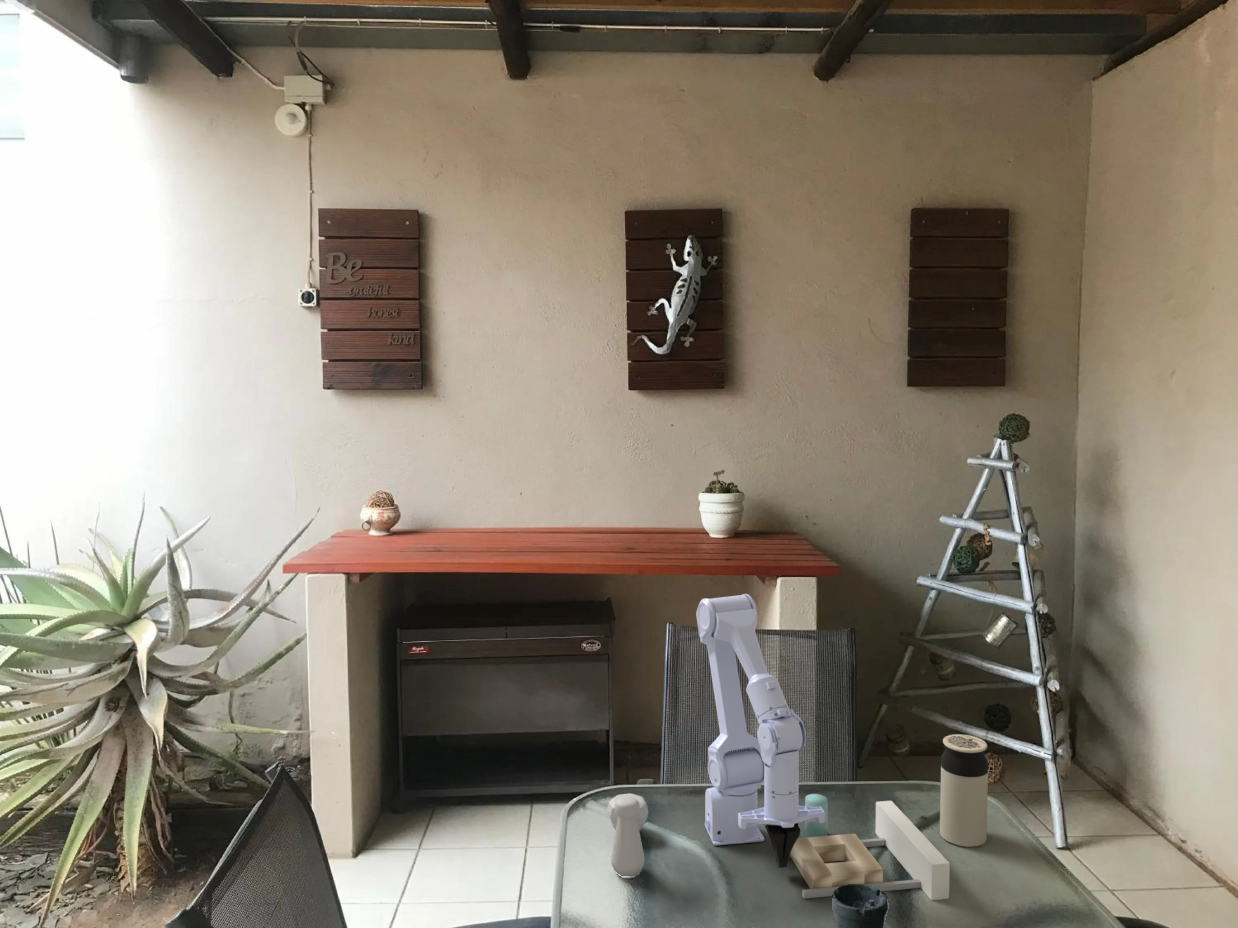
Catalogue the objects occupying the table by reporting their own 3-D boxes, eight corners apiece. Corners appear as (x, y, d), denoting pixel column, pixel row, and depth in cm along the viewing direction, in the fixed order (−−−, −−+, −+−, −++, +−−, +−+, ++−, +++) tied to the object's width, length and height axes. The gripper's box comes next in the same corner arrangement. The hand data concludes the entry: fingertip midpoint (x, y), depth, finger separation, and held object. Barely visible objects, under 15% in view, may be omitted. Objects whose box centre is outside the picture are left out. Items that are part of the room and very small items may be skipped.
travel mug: (962, 852, 162) (964, 753, 160) (930, 831, 169) (932, 737, 167) (996, 842, 165) (998, 745, 163) (963, 822, 172) (965, 730, 170)
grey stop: (811, 911, 144) (811, 875, 144) (770, 841, 166) (770, 810, 166) (948, 898, 147) (949, 862, 147) (890, 831, 169) (891, 800, 169)
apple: (645, 843, 166) (645, 809, 166) (603, 840, 168) (602, 806, 167) (651, 822, 174) (651, 789, 173) (611, 819, 175) (610, 786, 175)
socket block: (812, 892, 150) (812, 875, 149) (789, 854, 161) (789, 838, 161) (882, 886, 151) (883, 868, 151) (854, 849, 163) (854, 833, 163)
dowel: (809, 841, 166) (809, 804, 165) (802, 830, 170) (802, 794, 169) (830, 839, 167) (830, 802, 166) (822, 828, 171) (822, 792, 170)
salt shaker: (606, 867, 158) (604, 795, 157) (636, 860, 160) (635, 789, 159) (619, 884, 153) (618, 810, 152) (650, 876, 155) (649, 803, 154)
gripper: (745, 801, 149) (745, 880, 150) (831, 794, 151) (830, 873, 152) (734, 782, 156) (735, 858, 157) (816, 776, 158) (816, 851, 159)
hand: (781, 864), depth 155 cm, fingers closed
